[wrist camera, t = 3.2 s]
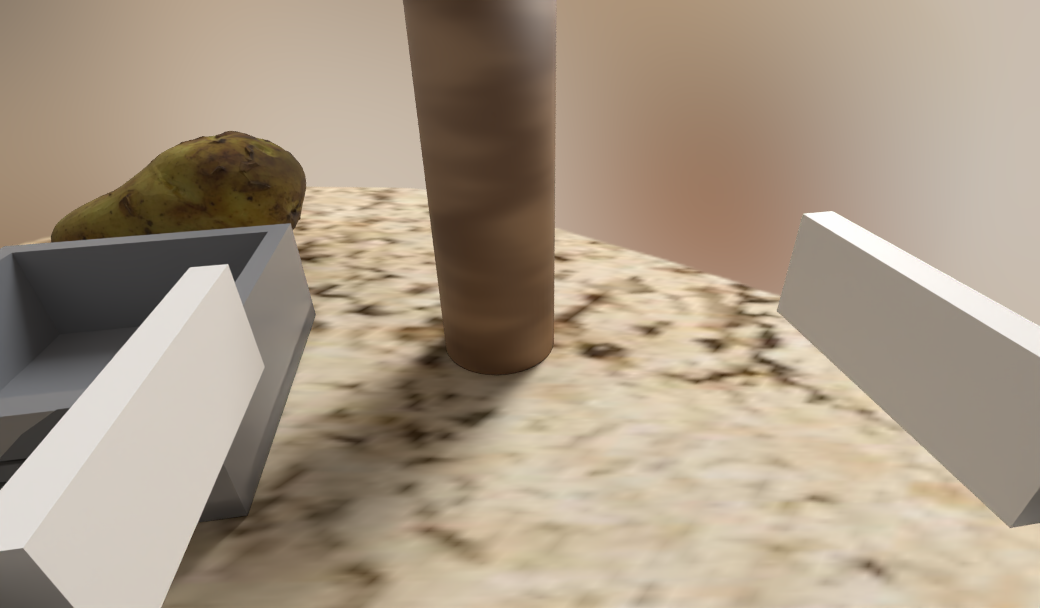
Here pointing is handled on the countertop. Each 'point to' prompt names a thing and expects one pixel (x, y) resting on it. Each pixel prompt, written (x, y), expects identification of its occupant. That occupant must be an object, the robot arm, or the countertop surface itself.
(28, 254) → the tub
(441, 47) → the pepper mill
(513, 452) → the countertop surface
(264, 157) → the potato
